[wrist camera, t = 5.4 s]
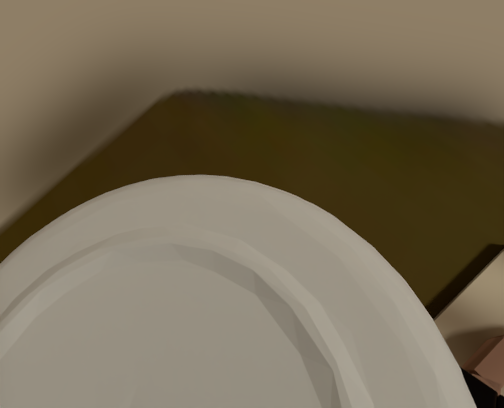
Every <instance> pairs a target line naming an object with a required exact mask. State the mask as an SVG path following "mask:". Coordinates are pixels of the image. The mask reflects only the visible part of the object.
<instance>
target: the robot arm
mask: <svg viewBox="0 0 504 408" xmlns="http://www.w3.org/2000/svg"><path fill="white" fill-rule="evenodd" d="M459 367H460V366H459ZM460 369H461V371H462V374H463V377H464V380H465V382H466V384H467V387H468V389H469V391H470V393H471V396H472V398H473V400H474V403H475V405H476V407H477V408H504V396H503V395H498V393H497V391H495V390H494V389H492V388H491V387H489V386H488V385H486V384H485V383H484V382H482V381H481V380H479V379H478V378H476V377H475V376H473V375H472V374H470V373H469V372H467V371H466V370H465V369H463V368H462V367H460Z"/></svg>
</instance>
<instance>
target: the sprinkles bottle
mask: <svg viewBox="0 0 504 408" xmlns="http://www.w3.org/2000/svg"><path fill="white" fill-rule="evenodd" d="M0 408H477V407H476V405H475V403H474V400H473V398H472V396H471V393H470V391H469V389H468V387H467V384H466V382H465V380H464V377H463V374H462V371H461V369H460V367H459V365H458V363H457V361H456V360H455V358H454V356H453V354H452V353H451V351H450V349H449V347H448V345H447V344H446V342H445V340H444V338H443V337H442V335H441V333H440V331H439V330H438V328H437V326H436V324H435V322H434V321H433V319H432V317H431V316H430V314H429V313H428V312H427V310H426V309H425V307H424V306H423V305H422V303H421V302H420V300H419V299H418V298H417V296H416V295H415V293H414V292H413V291H412V289H411V288H410V286H409V285H408V284H407V282H406V281H405V280H404V279H403V278H402V277H401V275H400V274H399V273H398V272H397V271H396V270H395V269H394V268H393V267H392V266H391V265H390V264H389V263H388V262H387V261H386V260H385V259H384V258H383V257H382V256H381V255H380V254H379V253H378V251H377V250H376V249H375V248H374V247H373V246H371V245H370V244H369V243H368V242H366V241H365V240H364V239H362V238H361V237H360V236H359V235H357V234H356V233H355V232H353V231H352V230H351V229H350V228H348V227H347V226H346V225H345V224H343V223H342V222H341V221H339V220H338V219H337V218H336V217H334V216H333V215H331V214H329V213H328V212H326V211H324V210H323V209H321V208H319V207H318V206H316V205H314V204H312V203H310V202H307V201H305V200H303V199H301V198H299V197H298V196H295V195H293V194H290V193H288V192H285V191H283V190H280V189H276V188H273V187H270V186H267V185H264V184H261V183H257V182H253V181H248V180H243V179H237V178H232V177H226V176H212V175H180V176H172V177H164V178H156V179H150V180H146V181H143V182H139V183H135V184H131V185H127V186H124V187H121V188H118V189H116V190H113V191H110V192H107V193H105V194H102V195H100V196H98V197H96V198H94V199H91V200H89V201H87V202H85V203H83V204H81V205H79V206H77V207H75V208H74V209H72V210H70V211H68V212H67V213H65V214H64V215H62V216H60V217H59V218H57V219H55V220H54V221H53V222H51V223H50V224H48V225H47V226H45V227H44V228H42V229H41V230H39V231H38V232H37V233H35V234H34V235H32V236H31V237H29V238H28V239H27V240H26V241H25V242H24V243H22V244H21V245H20V246H19V247H18V248H16V249H15V250H14V251H13V252H12V253H11V254H10V255H9V256H8V257H7V258H6V259H5V260H4V261H3V262H2V263H1V264H0Z"/></svg>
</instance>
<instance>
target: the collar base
mask: <svg viewBox="0 0 504 408" xmlns="http://www.w3.org/2000/svg"><path fill="white" fill-rule="evenodd" d="M433 321H434V322H435V324H436V326H437V328H438V330H439V331H440V333H441V335H442V337H443V338H444V340H445V342H446V344H447V345H448V347H449V349H450V351H451V353H452V354H453V356H454V358H455V360H456V361H457V363H458V365H459V366H460V367H462V368H463V369H465V370H466V371H467V372H469V373H470V374H472V375H473V376H475V377H476V378H478V379H479V380H481V381H482V382H484V383H485V384H486V385H488V386H489V387H491V388H492V389H494V390H495V391H497V393H498V395H503V396H504V249H503V250H502V251H501V252H500V253H499V254H498V255H497V256H496V257H495V258H494V259H493V260H492V261H491V262H490V263H489V264H488V265H487V266H486V267H485V268H484V269H483V270H482V271H481V272H480V273H479V274H478V275H477V276H476V277H475V278H474V279H473V280H472V281H471V282H470V283H469V284H468V285H467V286H466V287H465V288H464V289H463V290H462V291H461V292H460V293H459V294H458V295H457V296H456V297H455V298H454V299H453V300H452V301H451V302H450V303H449V304H448V305H447V306H446V307H445V308H444V309H443V310H442V311H441V312H440V313H439V314H438V315H437V316H436V317H435V318H434V319H433Z"/></svg>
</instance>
